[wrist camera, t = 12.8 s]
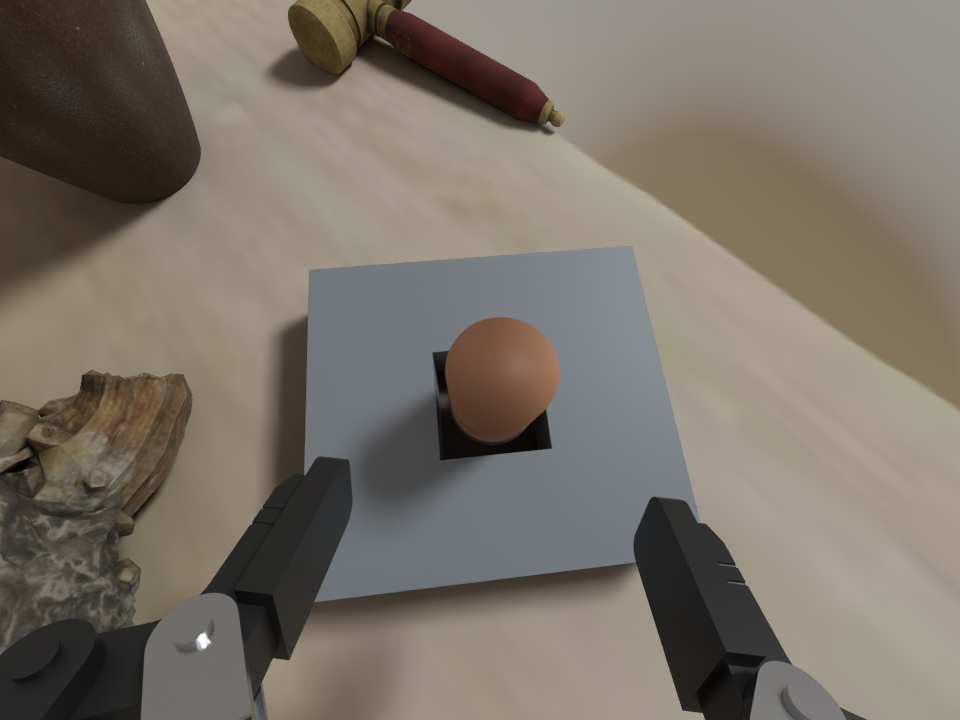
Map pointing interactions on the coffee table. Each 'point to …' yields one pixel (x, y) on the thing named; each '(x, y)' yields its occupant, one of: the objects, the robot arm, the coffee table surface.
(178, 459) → the coffee table surface
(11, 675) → the robot arm
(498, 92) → the gavel
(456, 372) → the cherry peg
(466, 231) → the coffee table surface
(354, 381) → the slate socket board
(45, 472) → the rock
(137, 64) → the plant pot
